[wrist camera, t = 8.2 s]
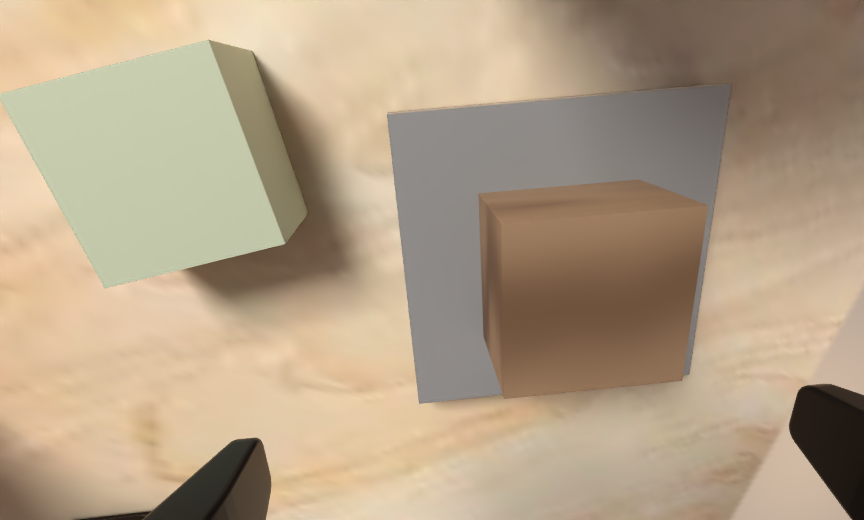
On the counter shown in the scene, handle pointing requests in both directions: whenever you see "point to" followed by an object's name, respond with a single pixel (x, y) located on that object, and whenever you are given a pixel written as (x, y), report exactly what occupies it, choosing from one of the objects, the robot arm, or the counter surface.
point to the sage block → (163, 160)
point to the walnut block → (588, 285)
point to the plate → (528, 169)
